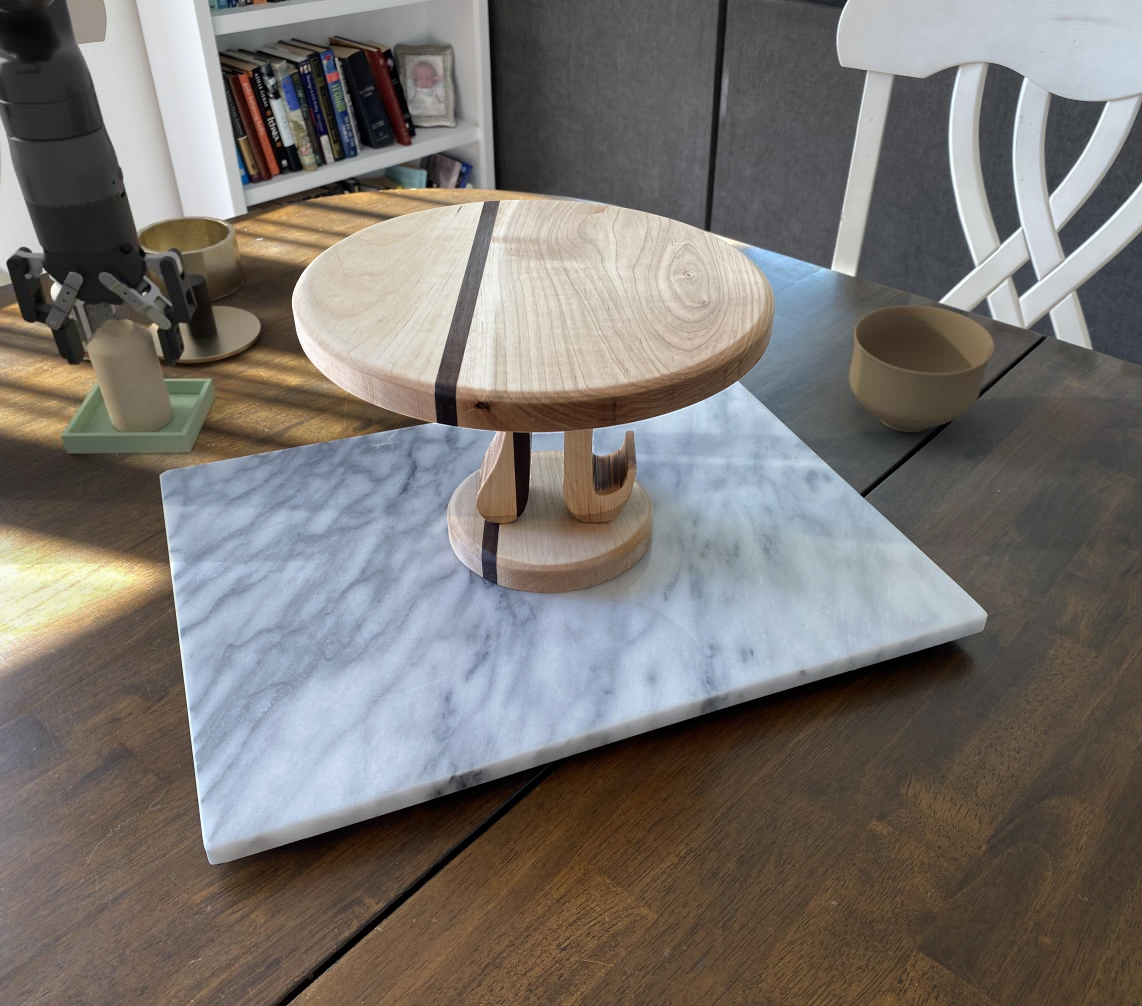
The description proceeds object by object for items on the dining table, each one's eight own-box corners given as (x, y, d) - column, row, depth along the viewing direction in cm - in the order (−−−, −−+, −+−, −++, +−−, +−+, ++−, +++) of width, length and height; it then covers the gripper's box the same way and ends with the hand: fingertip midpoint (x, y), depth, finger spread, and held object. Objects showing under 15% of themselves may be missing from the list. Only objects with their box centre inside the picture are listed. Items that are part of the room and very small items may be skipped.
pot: (134, 305, 109) (119, 253, 105) (162, 264, 117) (149, 215, 113) (232, 305, 109) (221, 254, 105) (252, 265, 118) (243, 216, 114)
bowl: (809, 405, 96) (828, 316, 89) (902, 378, 100) (927, 292, 94) (895, 471, 87) (923, 378, 81) (992, 438, 92) (1026, 348, 86)
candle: (124, 442, 86) (92, 346, 80) (104, 416, 89) (72, 322, 83) (183, 422, 89) (157, 328, 83) (161, 398, 92) (135, 305, 86)
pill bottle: (128, 333, 103) (103, 247, 97) (129, 357, 99) (103, 269, 93) (72, 340, 102) (42, 254, 96) (70, 366, 98) (39, 277, 91)
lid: (130, 368, 98) (111, 306, 93) (163, 314, 107) (148, 255, 103) (249, 368, 98) (236, 306, 94) (272, 314, 108) (261, 256, 103)
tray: (67, 453, 85) (60, 435, 84) (104, 395, 93) (98, 378, 92) (190, 453, 86) (185, 435, 85) (216, 395, 94) (212, 378, 93)
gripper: (-40, 201, 72) (29, 382, 82) (149, 202, 73) (195, 382, 83) (1, 168, 78) (61, 341, 88) (176, 170, 79) (215, 341, 89)
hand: (126, 360), depth 85 cm, fingers open, 8 cm apart
